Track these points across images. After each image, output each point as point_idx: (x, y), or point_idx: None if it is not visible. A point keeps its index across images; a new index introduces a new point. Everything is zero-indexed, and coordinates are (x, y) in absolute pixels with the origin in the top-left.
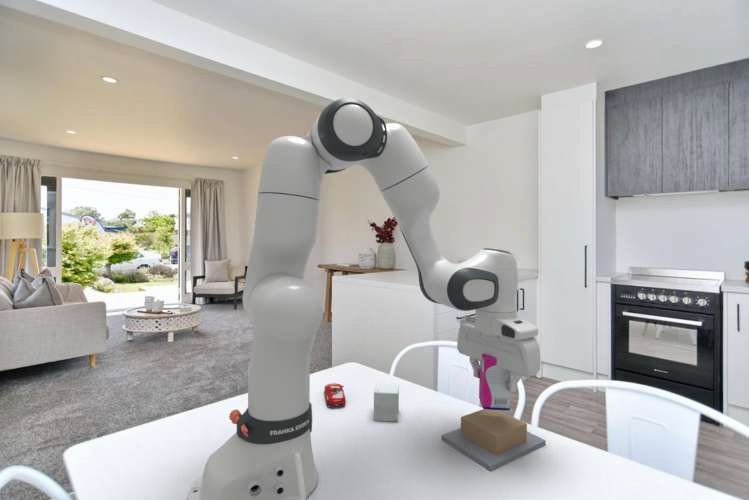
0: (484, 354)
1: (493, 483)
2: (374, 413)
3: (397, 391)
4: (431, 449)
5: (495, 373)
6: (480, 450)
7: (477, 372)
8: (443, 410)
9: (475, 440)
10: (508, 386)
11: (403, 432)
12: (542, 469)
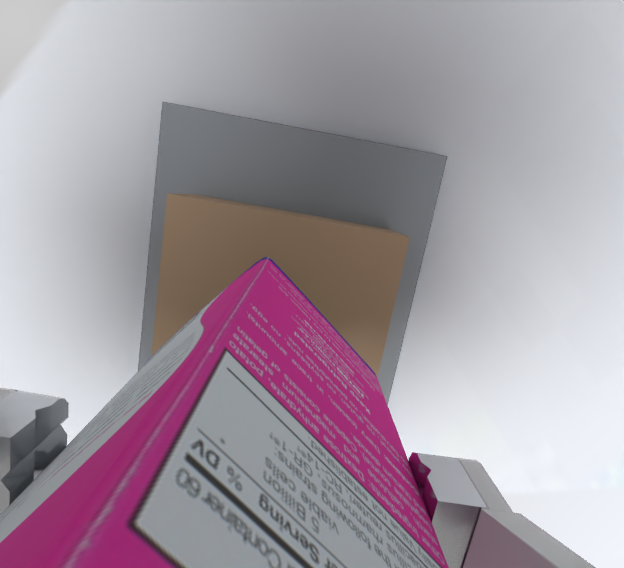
0: None
1: (118, 42)
2: None
3: None
4: (426, 55)
5: (75, 452)
6: (257, 177)
7: (443, 488)
8: (570, 375)
9: (305, 214)
10: (5, 411)
11: (604, 74)
12: (59, 268)
